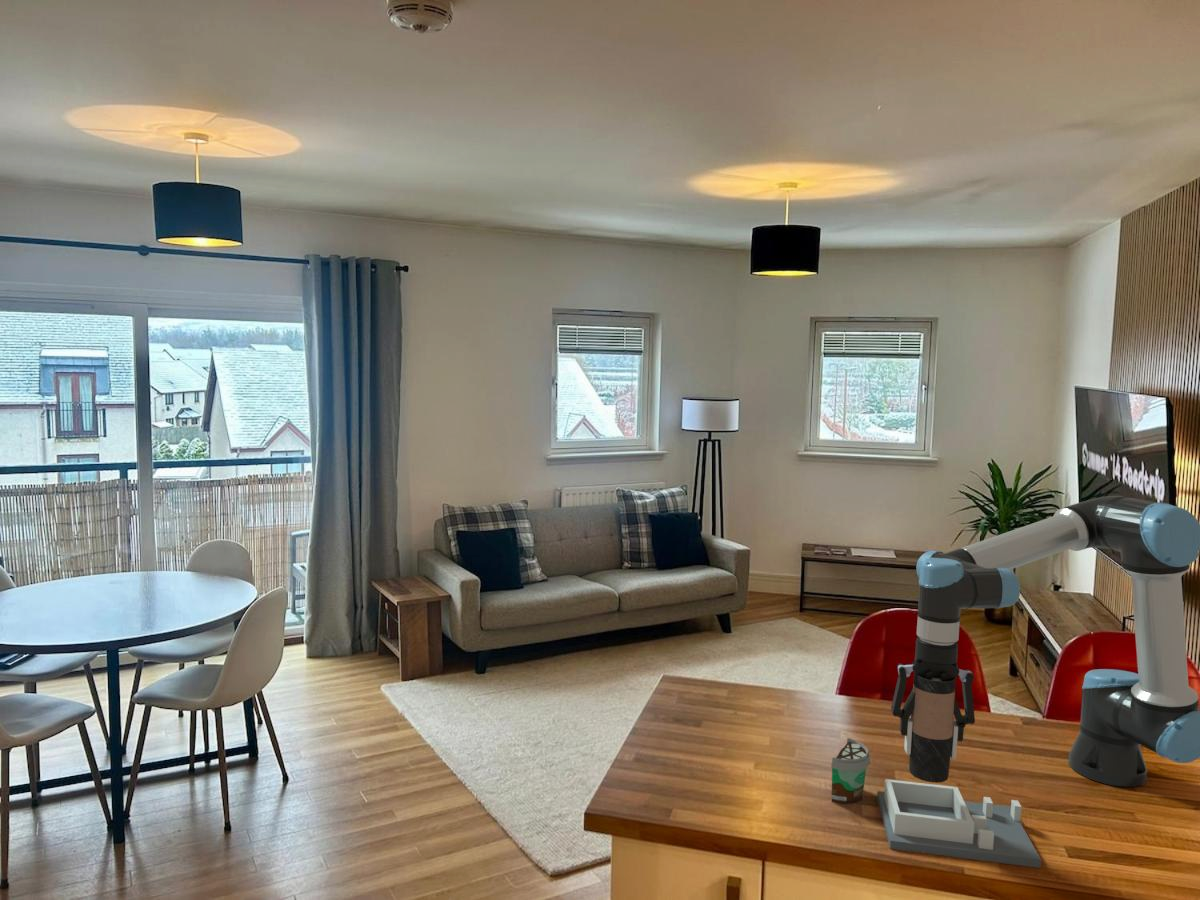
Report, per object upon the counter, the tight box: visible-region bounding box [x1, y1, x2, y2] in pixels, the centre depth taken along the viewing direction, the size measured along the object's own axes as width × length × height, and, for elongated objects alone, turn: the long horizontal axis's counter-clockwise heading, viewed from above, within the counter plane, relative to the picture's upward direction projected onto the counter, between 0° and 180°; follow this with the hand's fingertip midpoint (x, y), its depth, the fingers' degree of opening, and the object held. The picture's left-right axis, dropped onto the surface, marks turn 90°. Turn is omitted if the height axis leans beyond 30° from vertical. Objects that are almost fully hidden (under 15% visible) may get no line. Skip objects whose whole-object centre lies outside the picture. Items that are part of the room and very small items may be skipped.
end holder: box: [883, 778, 974, 844], centre depth 162 cm, size 14×14×4 cm
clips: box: [972, 796, 1023, 850], centre depth 159 cm, size 10×14×3 cm
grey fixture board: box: [876, 790, 1042, 869], centre depth 161 cm, size 26×19×2 cm
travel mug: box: [908, 671, 957, 783], centre depth 160 cm, size 8×8×20 cm
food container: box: [830, 737, 871, 805], centre depth 173 cm, size 12×6×10 cm, turn 148°
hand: (929, 753), depth 161 cm, fingers closed on travel mug, 8 cm apart
